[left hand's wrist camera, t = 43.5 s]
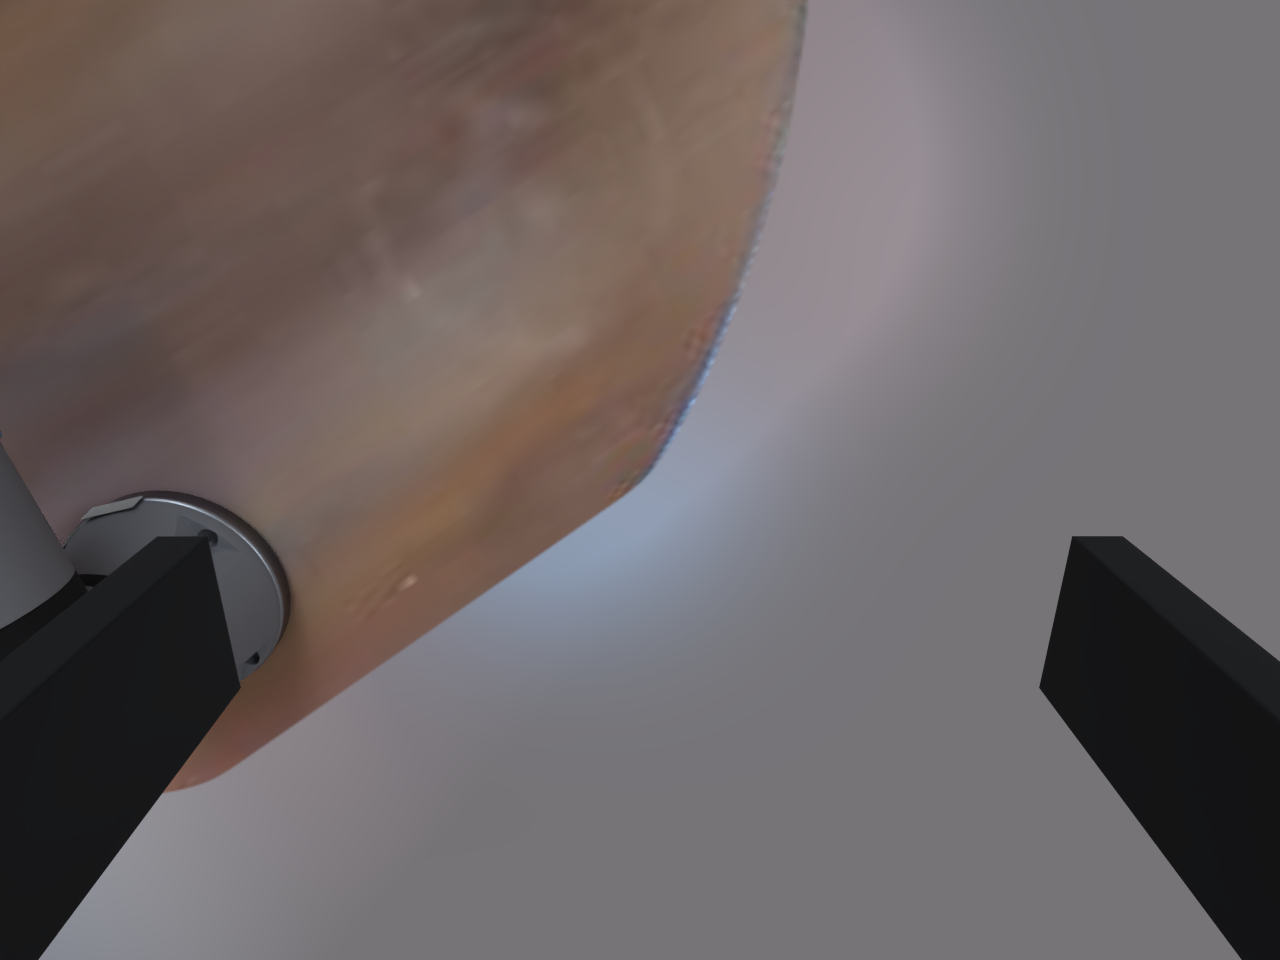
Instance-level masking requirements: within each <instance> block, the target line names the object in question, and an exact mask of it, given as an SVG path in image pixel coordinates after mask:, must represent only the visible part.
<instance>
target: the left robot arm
mask: <svg viewBox="0 0 1280 960" xmlns="http://www.w3.org/2000/svg"><path fill="white" fill-rule="evenodd" d="M1 436H2V434H1V431H0V437H1ZM84 518H86V519H85V520H84V521H83V522H82V523H80V524H79V525H78V526H77V528H76V529H75V530H74V531H73V532H72V534H71V535H70V536H69V537H68V539H67V540H66V542H65V543H64V545H63V547H62V546H61V544H60V542H59V541H58V539H57V537H56V535H55V534H54V532H53V530H52V529H51V527H50V525H49V524H48V522H47V520H46V519H45V517H44V515H43V514H42V512H41V510H40V508H39V507H38V505H37V503H36V502H35V500H34V498H33V497H32V495H31V493H30V492H29V490H28V488H27V487H26V485H25V483H24V481H23V480H22V478H21V476H20V475H19V473H18V471H17V470H16V468H15V466H14V465H13V463H12V461H11V460H10V458H9V456H8V454H7V453H6V451H5V449H4V448H3V446H2V444H1V443H0V960H38V959H39V958H40V957H41V955H42V954H43V953H44V951H45V950H46V949H47V947H48V946H49V944H50V943H51V942H52V941H53V939H54V938H55V937H56V935H57V934H58V932H59V931H60V930H61V928H62V927H63V926H64V924H65V923H66V922H67V920H68V919H69V918H70V916H71V915H72V914H73V912H74V911H75V910H76V908H77V907H78V906H79V904H80V903H81V902H82V900H83V899H84V898H85V896H86V895H87V893H88V892H89V891H90V890H91V888H92V887H93V885H94V884H95V883H96V881H97V880H98V879H99V877H100V876H101V875H102V873H103V872H104V871H105V869H106V868H107V867H108V865H109V864H110V863H111V861H112V860H113V859H114V857H115V856H116V855H117V853H118V852H119V851H120V849H121V848H122V847H123V845H124V844H125V842H126V841H127V840H128V838H129V837H130V836H131V834H132V833H133V832H134V830H135V829H136V828H137V826H138V825H139V824H140V822H141V821H142V820H143V818H144V817H145V816H146V814H147V813H148V812H149V810H150V809H151V808H152V806H153V805H154V804H155V802H156V801H157V800H158V798H159V797H160V795H161V794H162V793H163V791H164V790H165V789H166V787H167V786H168V785H169V783H170V782H171V781H172V779H173V778H174V777H175V775H176V774H177V773H178V771H179V770H180V769H181V767H182V766H183V765H184V763H185V762H186V761H187V759H188V758H189V757H190V755H191V754H192V753H193V751H194V750H195V748H196V747H197V746H198V744H199V743H200V742H201V740H202V739H203V738H204V736H205V735H206V734H207V732H208V731H209V730H210V728H211V727H212V726H213V724H214V723H215V722H216V720H217V719H218V718H219V716H220V715H221V714H222V712H223V711H224V710H225V708H226V707H227V706H228V704H229V703H230V701H231V700H232V699H233V697H234V696H235V695H236V693H237V692H238V691H239V689H240V688H241V687H240V681H241V680H243V679H244V678H246V677H247V676H248V675H250V674H251V673H252V672H254V671H255V670H256V669H258V668H259V667H260V666H261V665H262V664H263V663H264V661H265V660H266V659H267V658H268V656H269V655H270V654H271V652H272V651H273V650H274V648H275V647H276V646H277V644H278V643H279V641H280V639H281V638H282V636H283V634H284V631H285V629H286V626H287V623H288V618H289V613H290V595H289V588H288V584H287V580H286V577H285V574H284V571H283V569H282V567H281V565H280V563H279V561H278V559H277V557H276V555H275V554H274V552H273V551H272V549H271V548H270V547H269V545H268V544H267V543H266V541H265V540H264V539H263V538H262V537H261V536H260V535H259V534H258V533H257V532H256V531H255V530H254V529H253V528H252V527H251V526H250V525H249V524H247V523H246V522H245V521H244V520H242V519H241V518H240V517H238V516H237V515H235V514H234V513H232V512H231V511H229V510H227V509H225V508H224V507H222V506H220V505H217V504H215V503H213V502H211V501H208V500H205V499H203V498H200V497H196V496H193V495H189V494H184V493H179V492H171V491H147V492H140V493H135V494H131V495H127V496H124V497H122V498H119V499H116V500H114V501H113V502H111V503H109V504H105V505H100V506H96V507H92V508H91V509H90V510H89V511H88V512H87V513H86V514H85V515H84V516H83V517H82V518H81V519H84ZM1039 688H1040V689H1041V691H1042V692H1043V693H1044V695H1045V696H1046V697H1047V699H1048V700H1049V701H1050V703H1051V704H1052V706H1053V707H1054V708H1055V710H1056V711H1057V712H1058V714H1059V715H1060V716H1061V718H1062V719H1063V720H1064V722H1065V723H1066V724H1067V726H1068V727H1069V728H1070V730H1071V731H1072V732H1073V734H1074V735H1075V736H1076V738H1077V739H1078V740H1079V742H1080V743H1081V744H1082V746H1083V747H1084V748H1085V750H1086V751H1087V753H1088V754H1089V755H1090V756H1091V758H1092V759H1093V760H1094V762H1095V763H1096V765H1097V766H1098V767H1099V769H1100V770H1101V771H1102V773H1103V774H1104V775H1105V777H1106V778H1107V779H1108V781H1109V782H1110V783H1111V785H1112V786H1113V787H1114V789H1115V790H1116V791H1117V793H1118V794H1119V795H1120V797H1121V798H1122V799H1123V801H1124V802H1125V803H1126V805H1127V806H1128V808H1129V809H1130V810H1131V812H1132V813H1133V814H1134V816H1135V817H1136V818H1137V820H1138V821H1139V822H1140V824H1141V825H1142V826H1143V828H1144V829H1145V830H1146V832H1147V833H1148V834H1149V836H1150V837H1151V838H1152V840H1153V841H1154V842H1155V844H1156V845H1157V846H1158V848H1159V849H1160V851H1161V852H1162V853H1163V855H1164V856H1165V857H1166V859H1167V860H1168V861H1169V863H1170V864H1171V865H1172V867H1173V868H1174V869H1175V871H1176V872H1177V873H1178V875H1179V876H1180V877H1181V879H1182V880H1183V881H1184V883H1185V884H1186V885H1187V887H1188V888H1189V890H1190V891H1191V892H1192V893H1193V895H1194V896H1195V897H1196V899H1197V900H1198V902H1199V903H1200V904H1201V906H1202V907H1203V908H1204V910H1205V911H1206V912H1207V914H1208V915H1209V916H1210V918H1211V919H1212V920H1213V922H1214V923H1215V924H1216V926H1217V927H1218V928H1219V930H1220V931H1221V932H1222V934H1223V935H1224V937H1225V938H1226V939H1227V941H1228V942H1229V943H1230V945H1231V946H1232V947H1233V949H1234V950H1235V951H1236V953H1237V954H1238V955H1239V957H1240V958H1241V959H1242V960H1280V661H1278V660H1277V659H1276V658H1275V657H1273V656H1272V655H1271V654H1270V653H1268V652H1267V651H1266V650H1265V649H1263V648H1262V647H1261V646H1260V645H1258V644H1257V643H1256V642H1255V641H1253V640H1252V639H1251V638H1250V637H1248V636H1247V635H1246V634H1245V633H1243V632H1242V631H1241V630H1240V629H1238V628H1237V627H1236V626H1235V625H1233V624H1232V623H1231V622H1229V621H1228V620H1227V619H1226V618H1224V617H1223V616H1222V615H1221V614H1219V613H1218V612H1217V611H1216V610H1214V609H1213V608H1212V607H1211V606H1209V605H1208V604H1207V603H1206V602H1204V601H1203V600H1202V599H1201V598H1199V597H1198V596H1197V595H1196V594H1194V593H1193V592H1192V591H1191V590H1189V589H1188V588H1187V587H1186V586H1184V585H1183V584H1182V583H1181V582H1179V581H1178V580H1177V579H1176V578H1174V577H1173V576H1172V575H1171V574H1169V573H1168V572H1167V571H1166V570H1164V569H1163V568H1162V567H1160V566H1159V565H1158V564H1157V563H1155V562H1154V561H1153V560H1152V559H1150V558H1149V557H1148V556H1147V555H1145V554H1144V553H1143V552H1142V551H1140V550H1139V549H1138V548H1137V547H1135V546H1134V545H1133V544H1132V543H1130V542H1129V541H1128V540H1127V539H1125V538H1124V537H1123V536H1072V540H1071V545H1070V549H1069V554H1068V559H1067V563H1066V568H1065V572H1064V577H1063V582H1062V586H1061V591H1060V595H1059V600H1058V604H1057V609H1056V613H1055V618H1054V623H1053V627H1052V632H1051V636H1050V641H1049V646H1048V650H1047V655H1046V659H1045V664H1044V669H1043V673H1042V678H1041V682H1040V687H1039Z"/></svg>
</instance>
